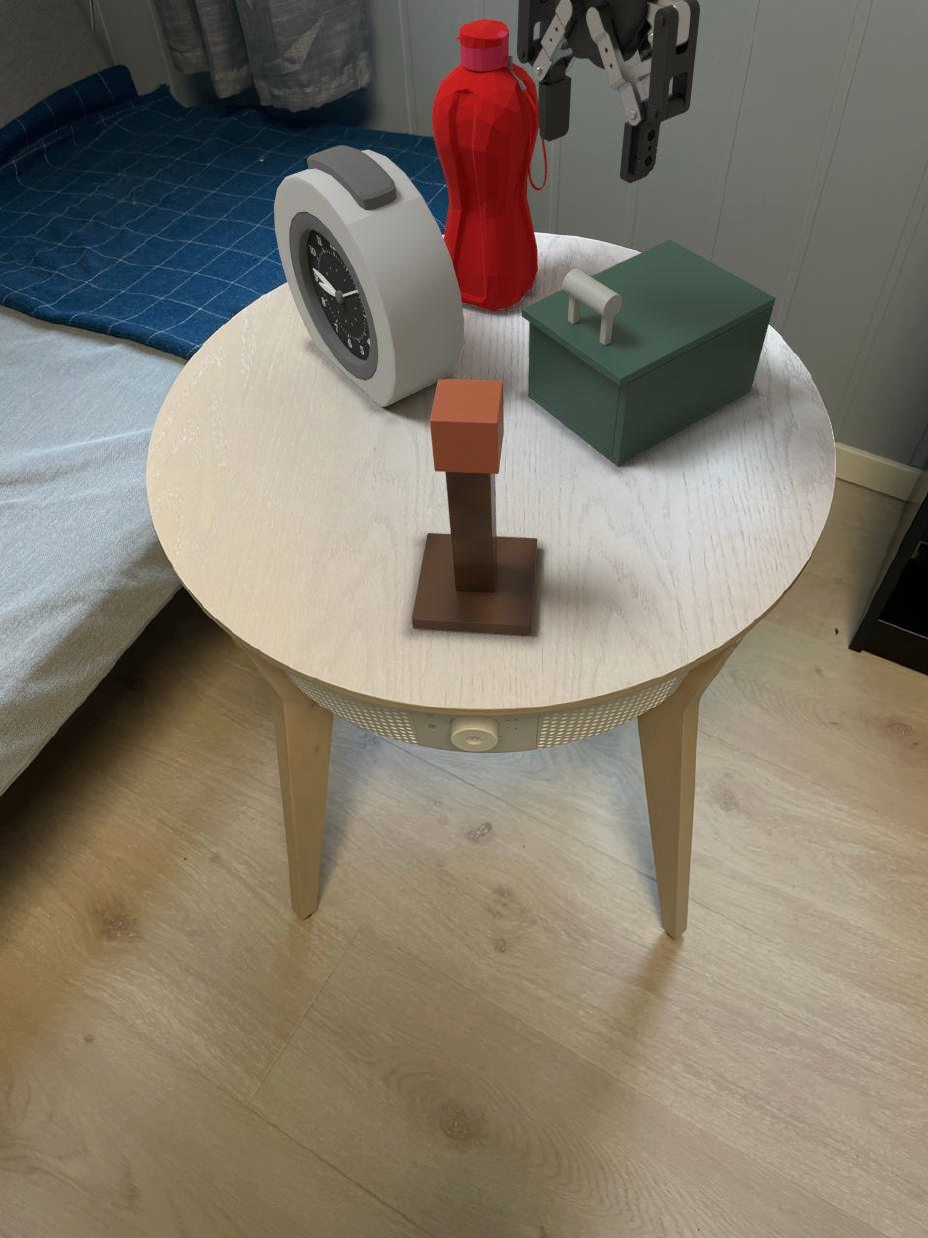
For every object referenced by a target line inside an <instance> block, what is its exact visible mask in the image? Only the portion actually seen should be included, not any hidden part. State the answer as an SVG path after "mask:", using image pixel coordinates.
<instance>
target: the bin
mask: <svg viewBox="0 0 928 1238" xmlns="http://www.w3.org/2000/svg"><path fill="white" fill-rule="evenodd" d="M773 310H774V306H773V307H771V308H769V309H767V310H765V311H763V312H761V313H759V314H757V315H755V316H754V317H752V318H750V319H748V320H746V321H744V322H742V323H740V324H738V325H736V326H735V327H733V328H731V329H729V330H727V331H725V332H723V333H721V334H719V335H718V336H716V337H714V338H712V339H710V340H708V341H706V342H704V343H702V344H700V345H699V346H697V347H695V348H693V349H691V350H689V351H687V352H685V353H683V354H681V355H680V356H678V357H676V358H674V359H672V360H670V361H668V362H666V363H664V364H662V365H661V366H659V367H657V368H655V369H653V370H651V371H649V372H647V373H645V374H643V375H642V376H640V377H638V378H636V379H634V380H632V381H630V382H628V383H626V384H624V385H623V386H619V385H617V384H616V383H615V382H613V381H612V380H610V379H609V378H607V377H606V376H605V375H603V374H602V373H600V372H599V371H598V370H596V369H595V368H593V367H592V366H591V365H589V364H588V363H586V362H585V361H584V360H582V359H581V358H579V357H578V356H577V355H575V354H574V353H572V352H571V351H570V350H568V349H567V348H565V347H564V346H563V345H561V344H560V343H558V342H557V341H556V340H554V339H553V338H551V337H550V336H549V335H547V334H546V333H544V332H543V331H542V330H540V329H539V328H537V327H536V326H535V325H533V324H532V323H530V322H529V321H528V322H529V323H528V379H527V396H528V397H529V398H531V400H533V401H534V402H535V403H536V404H538V406H540V407H541V408H543V409H544V410H545V411H547V412H548V413H549V414H550V415H552V416H553V417H554V418H555V419H557V420H558V421H559V422H560V423H562V425H564V426H566V428H568V429H569V430H571V431H572V432H573V433H574V434H576V435H577V436H578V437H580V438H581V439H582V440H583V441H585V443H587V444H588V445H590V446H591V447H592V448H593V449H595V450H596V451H597V452H599V453H600V454H601V455H603V456H604V457H605V458H606V459H608V460H609V461H610V462H611V463H613V464H614V465H615V466H617V467H620V466H622V465H623V464H625V463H627V462H629V461H630V460H632V459H634V458H636V457H638V456H640V455H641V454H643V453H645V452H646V451H648V450H650V449H652V448H653V447H655V446H657V445H660V444H661V443H663V442H665V441H666V440H667V439H669V438H671V437H674V436H675V435H676V434H678V433H680V432H682V431H683V430H685V429H687V428H688V427H691V426H692V425H694V424H695V423H697V422H699V421H701V420H704V418H707V417H708V416H710V415H712V414H714V413H715V412H717V411H719V410H721V409H722V408H724V407H725V406H728V405H729V404H731V403H733V402H735V401H736V400H738V399H740V398H742V397H744V396H745V395H747V394H749V393H751V391H752V390H753V385H754V381H755V377H756V374H757V371H758V367H759V363H760V359H761V355H762V351H763V348H764V344H765V340H766V336H767V332H768V330H769V329H768V328H769V324H770V321H771V317H772V313H773Z"/></svg>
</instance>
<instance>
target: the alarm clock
mask: <svg viewBox="0 0 928 1238" xmlns="http://www.w3.org/2000/svg"><path fill="white" fill-rule="evenodd" d="M306 162H307V167H308V168H307V169H304V170H302V171H299V172H296V173H293V174H290V175H287V176H285V177H284V178H283V180H282V182H281V183H279V185H278V187H277V189H276V193H275V197H274V198H275V199H274V204H273V215H274V216H273V217H274V218H273V219H274V230H275V231H274V233H275V237H276V242H277V248H278V253H279V254H278V255H279V258H280V261H281V264H282V268H283V272H284V275H285V279H286V283H287V285H288V288H289V290H290V294H291V295H292V298H293V301H294V304H295V307H296V309H297V311H298V313H299V316H300V317H301V320H302V322H303V325H304V326H305V328H306V330H307V333H308V335H309V338H311V340H312V342H313V344H314V346H315V347H316V349H318V350H319V351H320V352H321V353H322V354H323V355H324V356H326V357H327V358H328V359H329V360H330V361H331V362H332V363H333V364H334V365H335V366H336V367H337V368H338V369H339V370H340V371H342V373H343V374H344V375H346V376H347V377H348V378H349V379H350V380H351V381H352V382H353V383H355V385H356V386H357V387H358V388H359V389H360V390H361V391H363V392H364V393H365V394H366V395H367V396H368V398H370V399H371V400H372V401H373V402H375V403H376V405H377V406H379V407H381V408H385V407H389V406H390V405H392V404H395V403H396V402H399V401H401V400H403V399H405V398H407V397H409V396H411V395H414V394H416V393H418V392H420V391H421V390H424V389H426V388H428V387H430V386H433V385H434V384H437V383H438V379H448V378H449V377H450V376H451V374H452V373H453V372H454V370H455V369H456V368H457V367H458V365H459V362H460V359H461V354H462V352H463V349H464V337H465V336H464V335H465V334H464V333H465V319H464V310H463V303H462V302H461V294H460V289H459V285H458V282H457V278H456V274H455V270H454V267H453V263H452V259H451V256H450V254H449V251H448V249H447V246H446V244H445V241H444V235H443V234H442V232H441V228H440V226H439V224H438V222H437V221H436V219H435V217H434V215H433V213H432V212H431V210H430V207H429V206H428V204H427V202H426V201H425V198H424V197H423V195H422V194H421V193H420V191H419V190H418V188H417V187H416V186H415V184H414V182H412V180H411V179H410V178H409V176H407V174H406V172H405V171H403V170H402V169H401V168H400V167H399V166H398V165H396V163H395V162H393V161H392V160H391V159H390V158H388V157H387V156H385V155H383V154H381V153H378V152H376V151H373V150H370V149H365V150H360V149H358V148H355V147H351V146H348V145H336V146H332V147H330V148H327V149H324V150H321V151H318V152H316V153H313V154H311V155H309V156H308V157H307V159H306Z"/></svg>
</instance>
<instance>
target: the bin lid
mask: <svg viewBox="0 0 928 1238" xmlns="http://www.w3.org/2000/svg"><path fill="white" fill-rule="evenodd" d="M776 299H777V298H776V297H775V296H773V295H771V294H769V293H767V292H766V291H765V290H762V289H760V288H759V287H757V286H755V285H754V284H752V283H749V282H748V281H747V280H744V279H742V278H741V277H739V276H737V275H735V274H734V273H732V272H730V271H728V270H726V269H724V268H722V267H721V266H720V265H718V264H715V263H713V262H712V261H710V260H708V259H707V258H704V257H703V256H702V255H700V254H697V253H696V252H694V251H692V250H690V249H688V248H687V247H685V246H684V245H681V244H680V243H678V242H675V240H672V239H668V240H666V241H664V242H662V243H660V244H657V245H655V246H653V247H651V248H648V249H646V250H644V251H642V252H640V253H638V254H636V255H633V256H632V257H629V258H627V259H625V260H622V261H620V262H618V263H616V264H614V265H612V266H610V267H607V268H605V269H603V270H601V271H599V272H597V273H595V274H592V275H589V274H588V273H586V272H584V271H583V270H580V269H579V268H573V269H571V270H570V271H568V272H567V274H566V275H565V276H564V279H563V282H562V289H560V290H558V291H556V292H553V293H551V294H549V295H547V296H545V297H543V298H540V299H538V300H536V301H534V302H532V303H530V304H527V305H525V306H523V307H522V308H521V310H520V313H521V317H522V318H523V319H524V320H526V321H527V322H530V323H532V324H533V325H535V326H536V327H537V328H539V329H540V330H542V331H543V332H544V333H546V334H547V335H549V336H550V337H551V338H553V339H554V340H556V341H557V342H558V343H560V344H561V345H563V346H564V347H565V348H567V349H568V350H570V351H571V352H572V353H574V354H575V355H577V356H578V357H579V358H581V359H582V360H584V361H585V362H586V363H588V364H589V365H591V366H592V367H593V368H595V369H596V370H598V371H599V372H600V373H602V374H603V375H605V376H606V377H607V378H609V379H610V380H612V381H613V382H615V383H616V384H617V385H619V386H623V385H624V384H626V383H628V382H630V381H632V380H634V379H636V378H638V377H640V376H642V375H643V374H645V373H647V372H649V371H651V370H653V369H655V368H657V367H659V366H661V365H662V364H664V363H666V362H668V361H670V360H672V359H674V358H676V357H678V356H680V355H681V354H683V353H685V352H687V351H689V350H691V349H693V348H695V347H697V346H699V345H700V344H702V343H704V342H706V341H708V340H710V339H712V338H714V337H716V336H718V335H719V334H721V333H723V332H725V331H727V330H729V329H731V328H733V327H735V326H736V325H738V324H740V323H742V322H744V321H746V320H748V319H750V318H752V317H754V316H755V315H757V314H759V313H761V312H763V311H765V310H767V309H769V308H771V307H773V308H774V306H775V302H776Z"/></svg>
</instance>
